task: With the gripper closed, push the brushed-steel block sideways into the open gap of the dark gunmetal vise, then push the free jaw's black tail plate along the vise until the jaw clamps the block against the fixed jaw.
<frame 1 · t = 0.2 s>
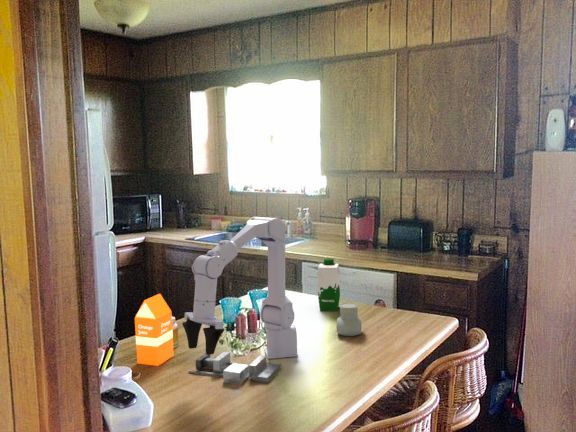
hand: (201, 351, 144), 10 cm above the table, tool pointing down, fingers open, 7 cm apart
vise base: (244, 372, 155), on the table
milk carton: (329, 309, 218), on the table
steel block: (236, 379, 151), on the table
orange juice: (156, 360, 168), on the table
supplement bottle: (170, 346, 179), on the table
free jaw: (212, 361, 159), point 2 cm above the table, slide at 0.0 cm
air freshener: (349, 334, 186), on the table
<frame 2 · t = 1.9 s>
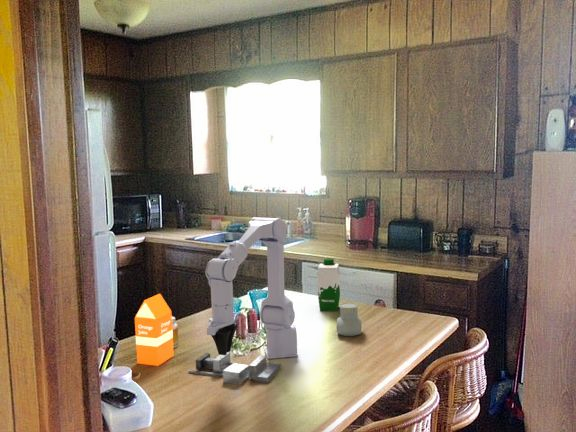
hand: (224, 353, 144), 10 cm above the table, tool pointing down, fingers closed
nothing on the table moved.
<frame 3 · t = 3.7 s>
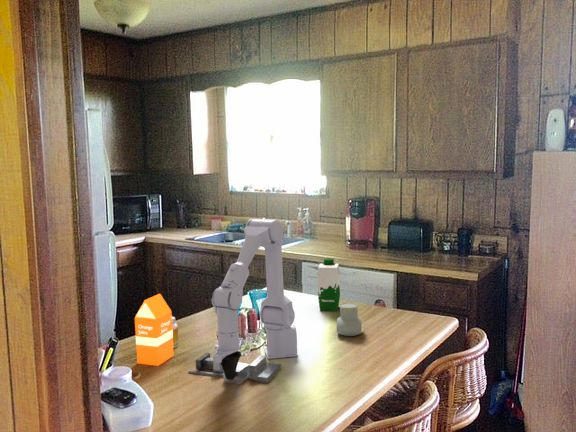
hand: (230, 378, 147), 2 cm above the table, tool pointing down, fingers closed
steel block: (237, 378, 151), on the table, touching gripper
everything else where it was.
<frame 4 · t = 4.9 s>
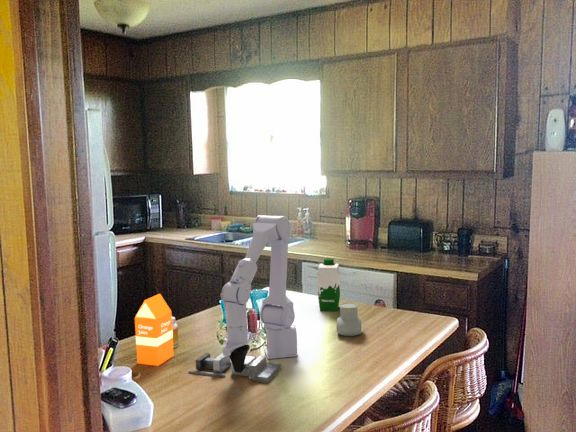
hand: (238, 371, 152), 2 cm above the table, tool pointing down, fingers closed
steel block: (243, 371, 156), on the table, touching gripper
everything else where it was.
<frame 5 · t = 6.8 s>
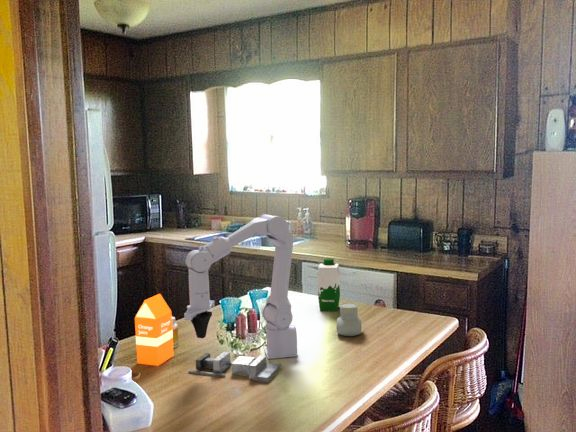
hand: (201, 337, 157), 10 cm above the table, tool pointing down, fingers closed
steel block: (243, 371, 156), on the table
everything else where it was.
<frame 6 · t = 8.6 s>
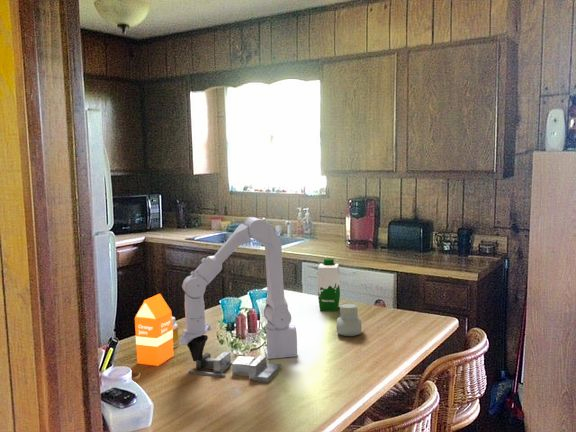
hand: (197, 360, 160), 2 cm above the table, tool pointing down, fingers closed, pressing on free jaw
free jaw: (213, 361, 159), point 2 cm above the table, slide at 0.1 cm, touching gripper
everything else where it was.
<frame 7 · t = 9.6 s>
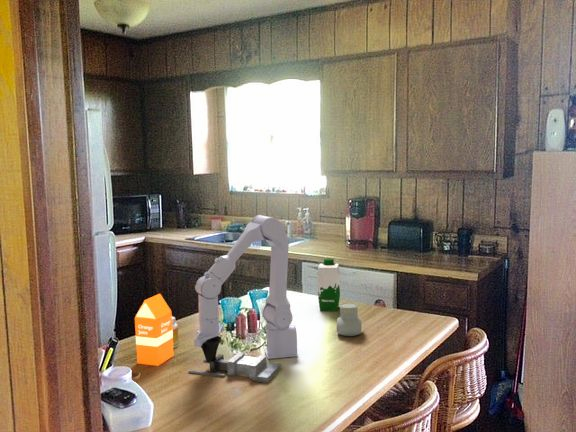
hand: (210, 362, 159), 2 cm above the table, tool pointing down, fingers closed, pressing on free jaw
steel block: (248, 372, 156), on the table, touching free jaw, vise base
free jaw: (226, 363, 157), point 2 cm above the table, slide at 4.5 cm, touching gripper, steel block
everything else where it was.
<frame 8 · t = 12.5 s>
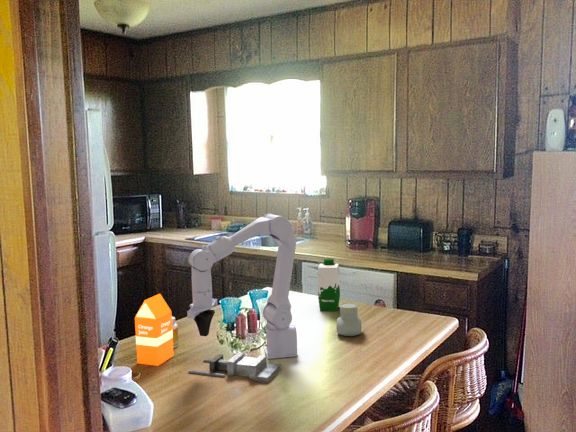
hand: (204, 335, 159), 10 cm above the table, tool pointing down, fingers closed
steel block: (247, 372, 156), on the table
free jaw: (226, 363, 157), point 2 cm above the table, slide at 4.4 cm
everything else where it was.
at the end: steel block 1.1 cm from the vise base (horizontally); free jaw slide at 4.4 cm; steel block tilted 0° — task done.
